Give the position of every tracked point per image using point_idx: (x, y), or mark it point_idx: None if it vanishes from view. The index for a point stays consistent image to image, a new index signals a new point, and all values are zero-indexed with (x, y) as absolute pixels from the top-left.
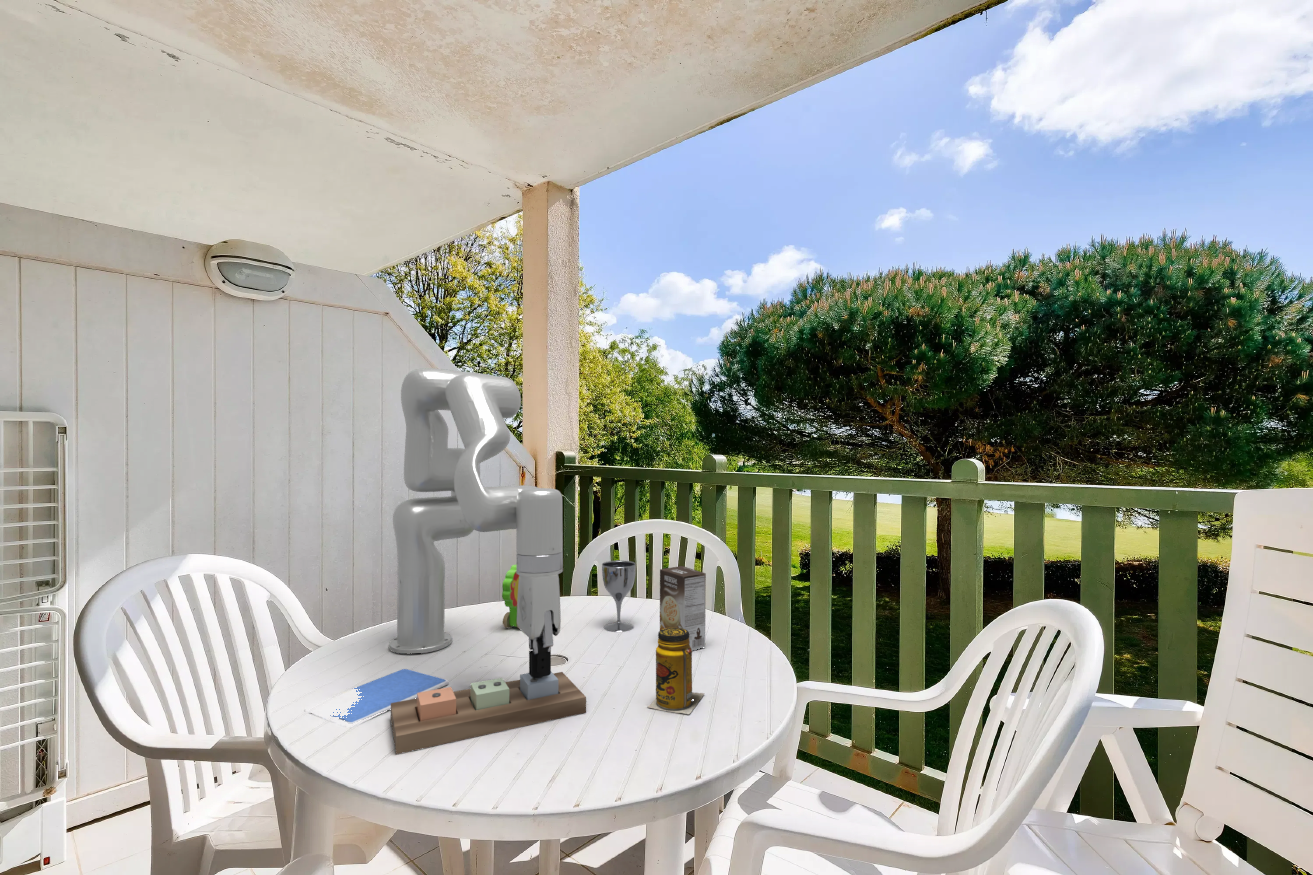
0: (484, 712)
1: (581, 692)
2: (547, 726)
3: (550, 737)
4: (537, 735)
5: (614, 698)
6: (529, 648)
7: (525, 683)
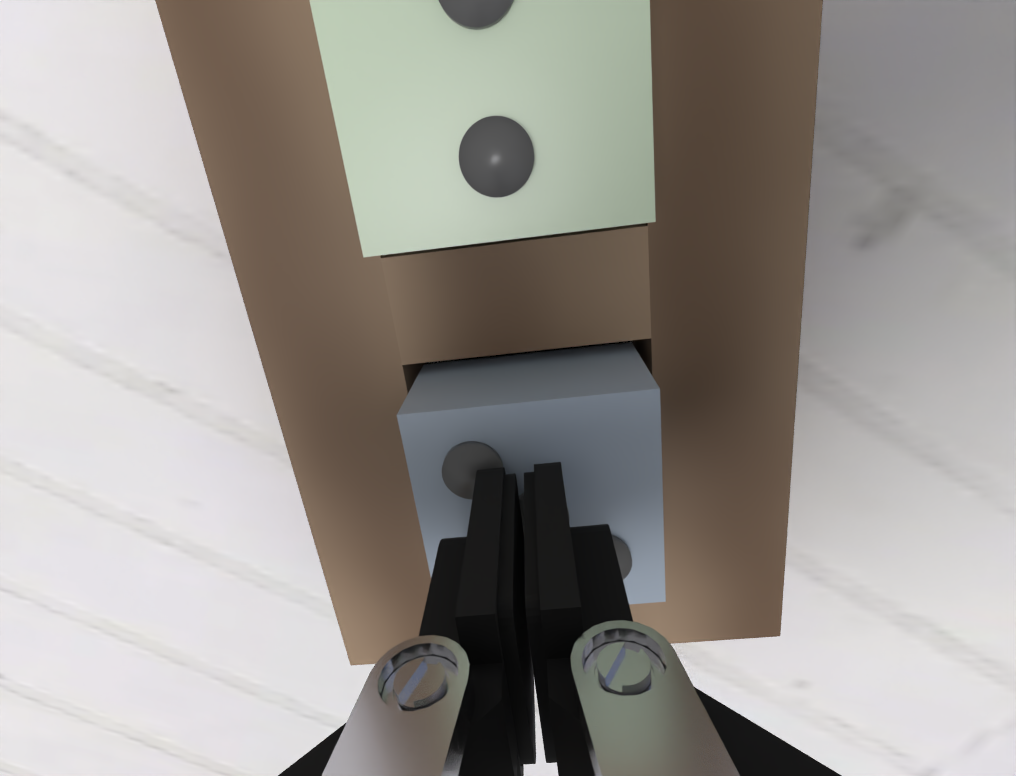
0: (259, 25)
1: None
2: (266, 415)
3: (143, 407)
4: (174, 352)
5: None
6: (638, 627)
7: (482, 400)
